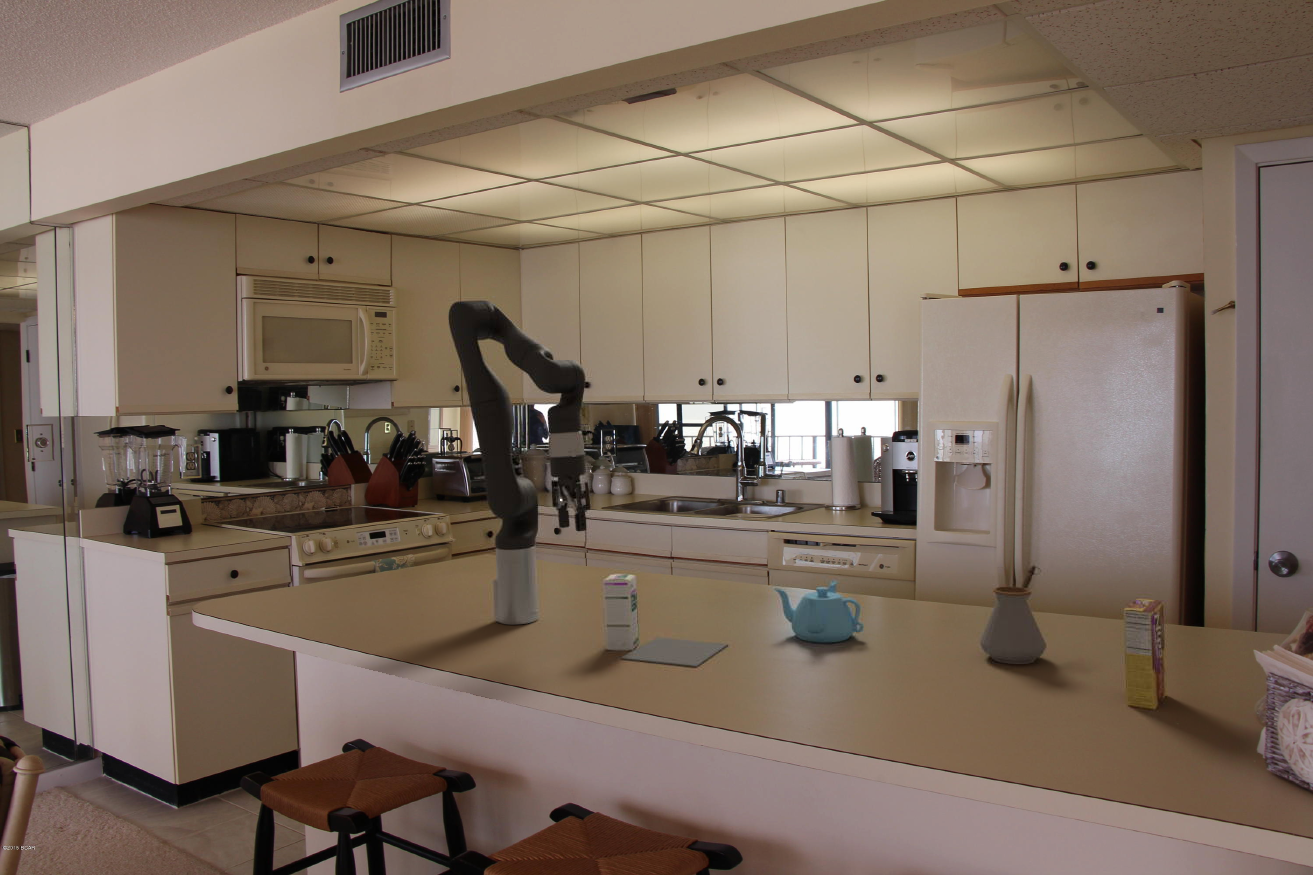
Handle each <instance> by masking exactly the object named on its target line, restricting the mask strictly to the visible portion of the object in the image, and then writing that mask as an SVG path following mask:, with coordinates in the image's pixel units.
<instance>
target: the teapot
mask: <svg viewBox="0 0 1313 875" xmlns="http://www.w3.org/2000/svg"><path fill="white" fill-rule="evenodd" d="M837 583H838V582H837V580H836V579H834V580H832V581H830V584H829V587H825V586H818V587H816V588H815V591H816V592H815V591H814V592H808V593H806V594H804V595H803V596H802V597H801V599H800V600H799V602H798V604H797V605H796V607H795V608H793V607H792V605H791V604H790V603H791V602H790V599H789V596H788V593H787V592H786V591H785V590H783V589H781V588H778V587H773V590H774V591H776V592H777V593H778V594H779V596H780V598H781V604H782V611H783V614H784V616H785V619H787V621H788V622H789V623H791V629H792V631H793V633H794V634H795V635H796V636H797V638H799V639H801V640H802V641H807V642H809V643H810V642H812V643H825V644H826V643H829V644H830V643H839V642H840V643H841V642H843V641H847V640H848V639H850V637H851V636H852V635H853V634H854V633H856V634H857V633H862V632H863V631H864V628H865V626H864V624H863V622H861V621H858V620H859V618H860V614H861V605H860V604H859V601H857V600H855V599H854V598H851V597H850V598H849V597H848V598H844V597H843V596H842V595H841V594H839V593H837ZM848 603H850V604H852V605H854V607H855V614H853V612H852V609H851V608H850V606H849V604H848ZM858 626H859V628H858Z"/></svg>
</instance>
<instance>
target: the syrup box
mask: <svg viewBox="0 0 1313 875" xmlns="http://www.w3.org/2000/svg"><path fill="white" fill-rule="evenodd" d="M602 587H603V588H602V590H603V591H602V592H603V612H604V613H603V614H604V630H605V631H604V632H605V634H604V635H605V647H606V648H605V649H606V650H608V651H625V652H626V651H627V652H629V651H631V652H632V651H634V650H635V648H637V646H638V645H639V644H640V632H639V629H640V628H639V612H638V611H639V608H638V593H637V591H638V590H637V576H636V574H631V573H630V574H629V573H617V574H610V575H609V576H607V577H606V578H605V579H603V580H602Z"/></svg>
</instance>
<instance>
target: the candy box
mask: <svg viewBox="0 0 1313 875" xmlns="http://www.w3.org/2000/svg"><path fill="white" fill-rule="evenodd" d="M1164 618H1165V617H1164V601H1163V600H1154V599H1147V598H1146V599H1144V598H1136V599H1134V601H1133V602H1131V603H1130V604H1129V605H1128V606H1127V607H1125V608H1124V609H1123V630H1124V631H1123V633H1124V660H1125V662H1124V663H1125V664H1124V665H1125V685H1126V686H1125V687H1126V688H1125V689H1126V705H1127V706H1128V707H1134V708H1140V709H1147V710H1156V709H1157V707H1158V706H1159V705H1160V704H1161V703H1162V701H1163V700H1164V699H1165V697H1167V696H1166V695H1167V694H1168V691H1167V668H1166V667H1167V666H1166V648H1165V644H1166V643H1165V622H1164Z"/></svg>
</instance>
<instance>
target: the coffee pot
mask: <svg viewBox="0 0 1313 875" xmlns="http://www.w3.org/2000/svg"><path fill="white" fill-rule="evenodd" d="M1036 569H1038V570H1039V572H1038V573H1035V571H1036ZM1041 572H1042V571H1041V568H1039V567H1038V566H1036V565H1035V564H1034V565H1032V566H1030V567H1028V571H1027V574H1026V575H1025V577H1024V579H1023V581H1022V584H1021V586H998V587H995V588H993V589H992V591H993V593H995V597H996V601H995V604H994V607H993V609H992V610H991V611H992V612H991V613H990V616H989V618H988V619H987V622H986V625H985V628H984V630H983V632H982V634H981V637H980V639H979V643H980V646H981V649H982V650H983V651H984V652H985V653H986V654H987V655H988V656H990V659H992V661H995V662H998V663H1003V664H1008V665H1009V664H1010V665H1027V664H1028V665H1029V664H1031V663H1035V661H1036V659H1038V658H1040V657H1042V656H1043V654H1044V653H1045V650H1046V649H1047V643H1046V641H1045V639H1044V636H1043V635H1042V633H1041V631H1040V628H1039V626H1038V623H1037V621H1036V619H1035V618H1034V614H1033V613H1032V611H1031V608H1030V606H1029V604H1028V602H1027V601H1028V599H1029V597H1030V596H1031V594H1032V590H1030V589H1028V587H1029V586H1030V583H1031V581H1032V580H1033V579H1032V577H1033V576H1035V575H1036V576H1037V575H1040V574H1041Z"/></svg>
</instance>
